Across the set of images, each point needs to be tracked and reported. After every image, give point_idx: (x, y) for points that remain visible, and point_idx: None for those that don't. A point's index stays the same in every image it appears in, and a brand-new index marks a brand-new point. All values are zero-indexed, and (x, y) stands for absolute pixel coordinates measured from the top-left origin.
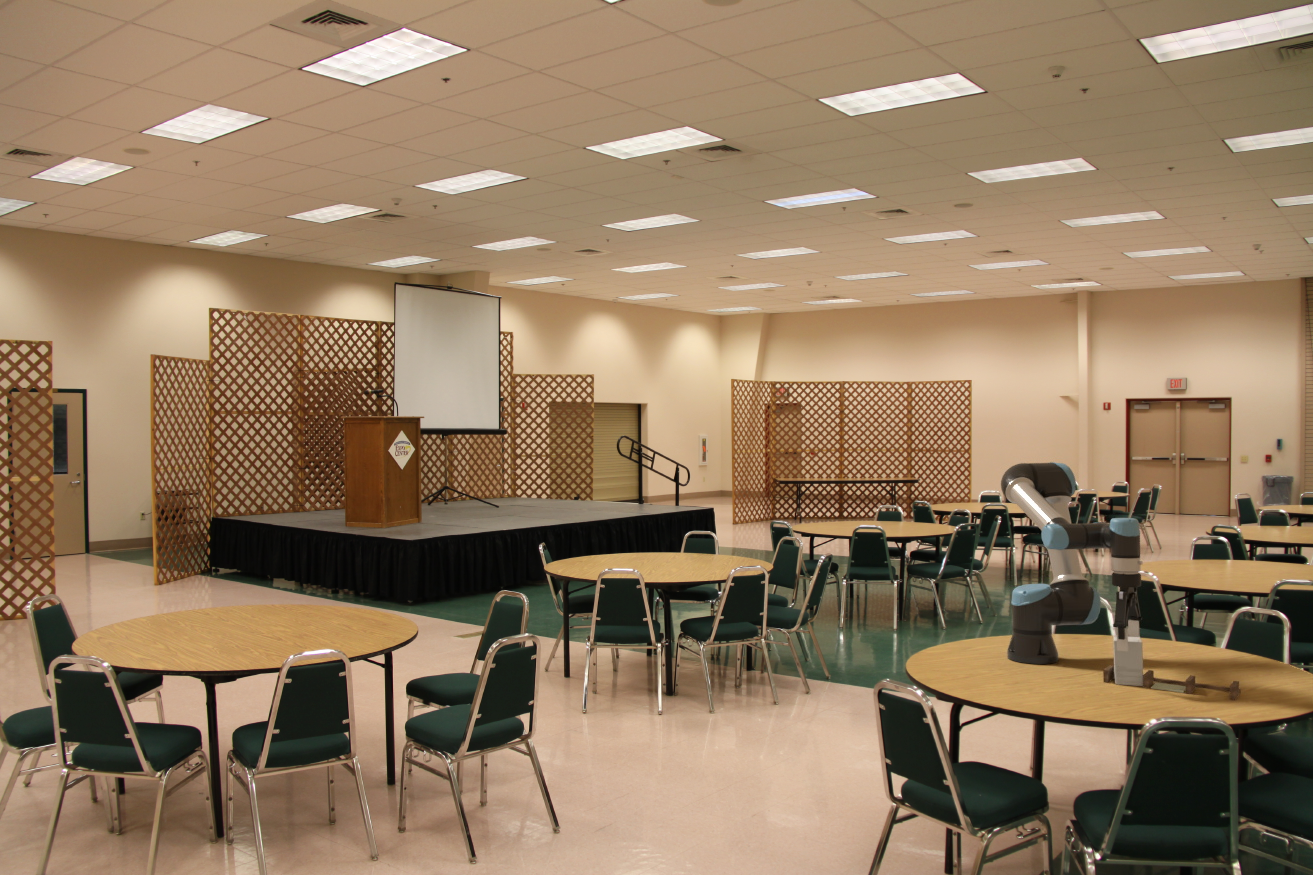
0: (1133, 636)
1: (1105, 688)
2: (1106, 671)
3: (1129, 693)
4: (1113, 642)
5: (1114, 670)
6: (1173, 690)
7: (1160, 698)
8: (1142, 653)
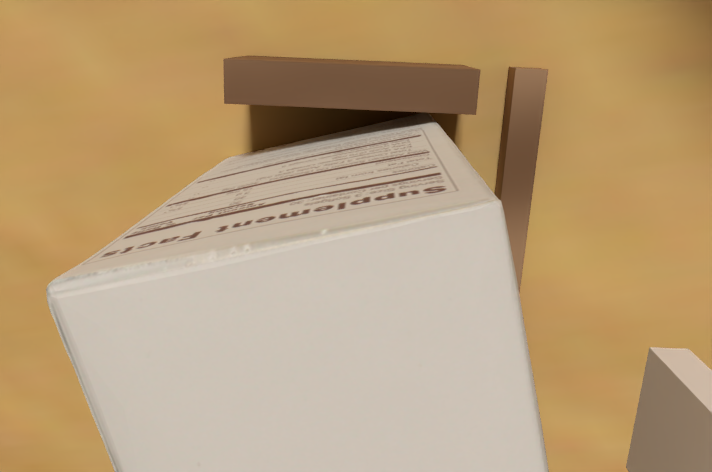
0: (686, 466)
1: (43, 114)
2: (227, 89)
3: (15, 289)
4: (170, 243)
5: (285, 153)
6: None
7: (23, 464)
8: None
